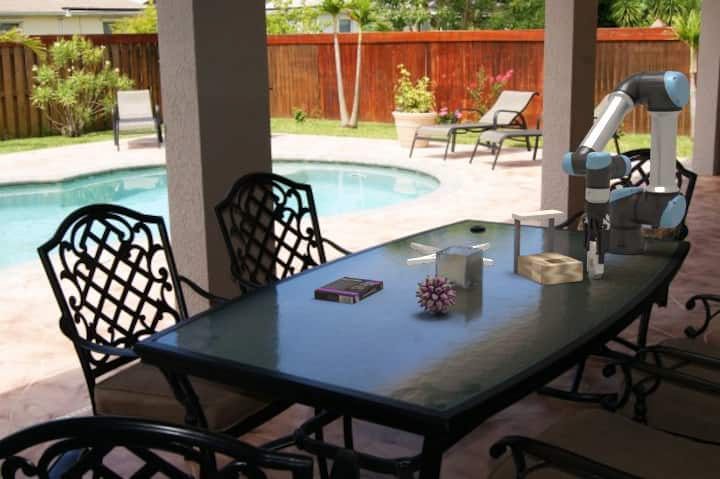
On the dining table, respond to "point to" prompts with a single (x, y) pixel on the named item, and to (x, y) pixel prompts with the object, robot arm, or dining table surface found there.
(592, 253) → the peg
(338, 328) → the dining table surface
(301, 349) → the dining table surface
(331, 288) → the box
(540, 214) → the miniature white table
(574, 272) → the socket block
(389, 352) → the dining table surface
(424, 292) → the purple spiky ball
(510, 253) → the dining table surface
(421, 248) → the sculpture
